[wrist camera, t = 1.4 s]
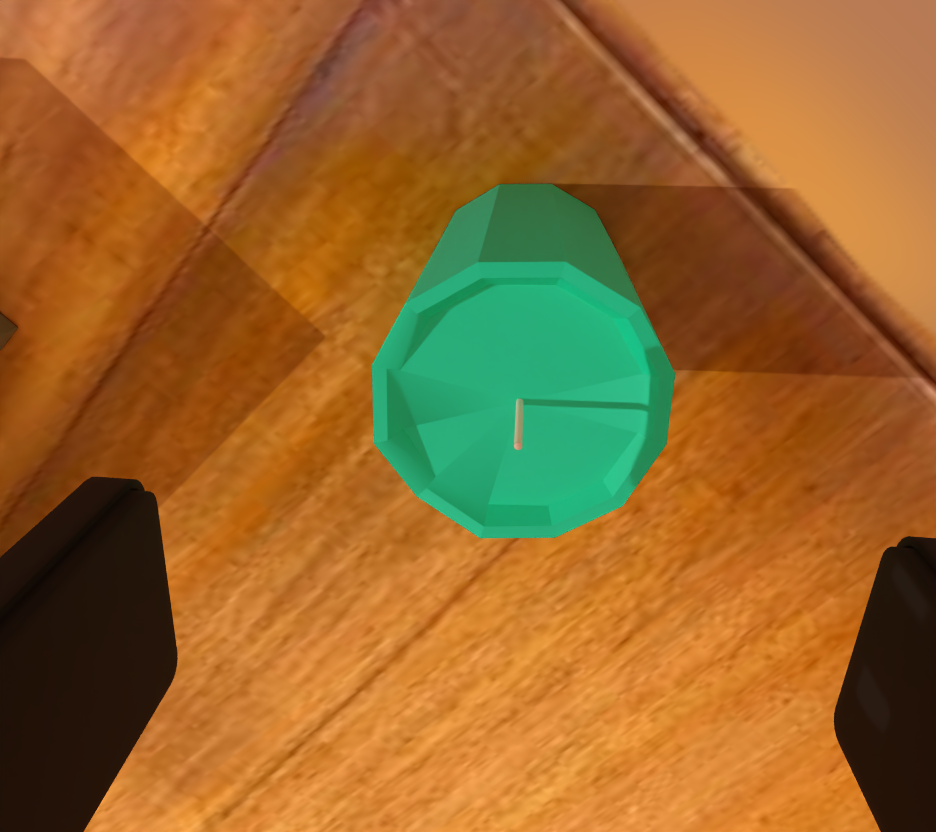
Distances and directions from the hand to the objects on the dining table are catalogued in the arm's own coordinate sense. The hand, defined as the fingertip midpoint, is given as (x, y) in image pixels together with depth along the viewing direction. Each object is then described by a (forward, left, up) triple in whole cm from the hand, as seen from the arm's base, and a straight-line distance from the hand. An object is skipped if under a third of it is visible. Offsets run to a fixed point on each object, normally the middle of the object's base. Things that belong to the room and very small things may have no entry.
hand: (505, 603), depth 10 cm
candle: (0, 0, -16) cm, 16 cm away
